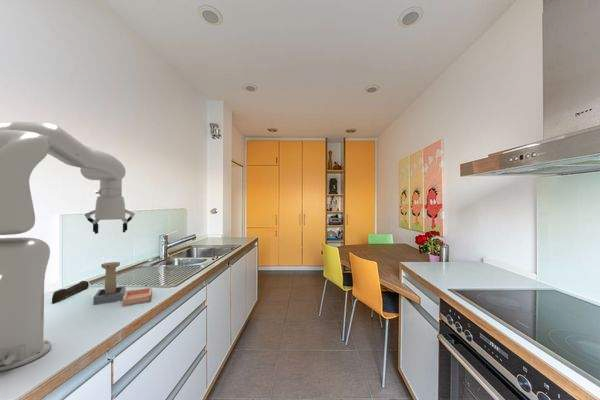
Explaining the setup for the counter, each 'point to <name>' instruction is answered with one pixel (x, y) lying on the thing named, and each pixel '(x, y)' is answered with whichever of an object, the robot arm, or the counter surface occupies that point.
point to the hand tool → (68, 291)
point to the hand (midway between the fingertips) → (110, 232)
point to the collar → (109, 296)
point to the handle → (110, 277)
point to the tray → (137, 296)
